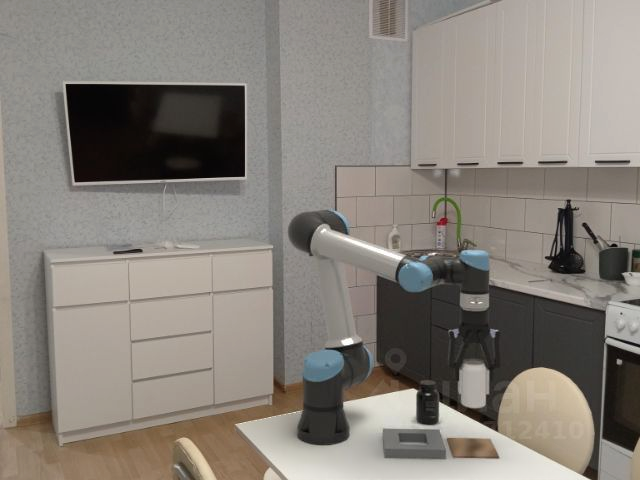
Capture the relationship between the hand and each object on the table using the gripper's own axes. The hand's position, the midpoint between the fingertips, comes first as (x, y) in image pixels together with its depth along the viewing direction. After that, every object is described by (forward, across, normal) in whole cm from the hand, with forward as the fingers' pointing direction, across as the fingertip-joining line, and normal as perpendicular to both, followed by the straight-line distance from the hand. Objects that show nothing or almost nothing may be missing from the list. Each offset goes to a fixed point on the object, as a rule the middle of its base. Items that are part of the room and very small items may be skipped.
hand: (473, 392), depth 176 cm
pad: (+16, 0, 0) cm, 16 cm away
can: (+4, 0, 0) cm, 4 cm away
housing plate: (+16, -16, 0) cm, 22 cm away
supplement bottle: (+16, -10, +20) cm, 28 cm away
